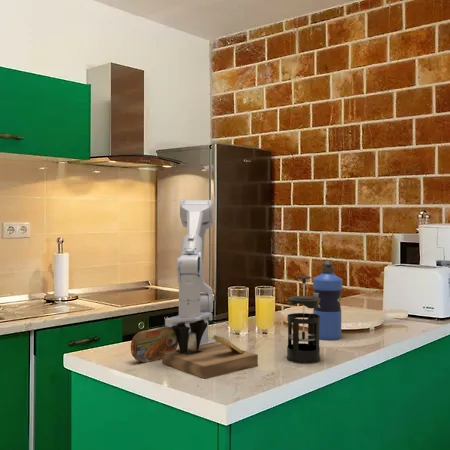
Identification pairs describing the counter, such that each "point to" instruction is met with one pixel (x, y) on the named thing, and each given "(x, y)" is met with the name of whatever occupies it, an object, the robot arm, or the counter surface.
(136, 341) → the tin
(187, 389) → the counter surface
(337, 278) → the water bottle
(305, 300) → the french press
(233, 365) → the pin plate
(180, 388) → the counter surface
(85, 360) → the counter surface
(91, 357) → the counter surface
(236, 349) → the keeper flap
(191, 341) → the peg
